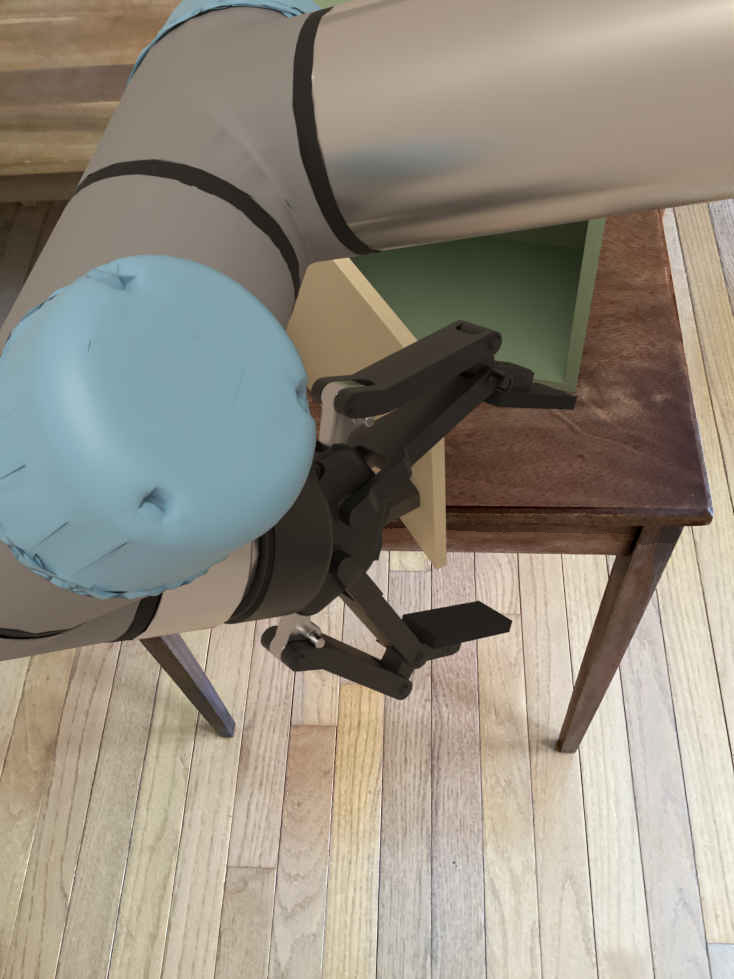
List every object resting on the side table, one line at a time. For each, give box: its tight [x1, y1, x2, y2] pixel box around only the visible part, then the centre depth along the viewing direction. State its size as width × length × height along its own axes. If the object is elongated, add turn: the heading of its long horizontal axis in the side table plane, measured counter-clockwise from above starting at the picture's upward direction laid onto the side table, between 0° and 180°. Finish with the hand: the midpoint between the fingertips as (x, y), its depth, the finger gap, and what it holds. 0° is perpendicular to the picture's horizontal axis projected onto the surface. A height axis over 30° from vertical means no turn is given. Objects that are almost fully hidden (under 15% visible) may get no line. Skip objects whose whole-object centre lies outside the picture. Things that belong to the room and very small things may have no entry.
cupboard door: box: [286, 258, 448, 570], centre depth 70 cm, size 7×26×24 cm, turn 30°
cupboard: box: [313, 0, 607, 393], centre depth 79 cm, size 18×26×24 cm
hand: (524, 510), depth 53 cm, fingers open, 13 cm apart
